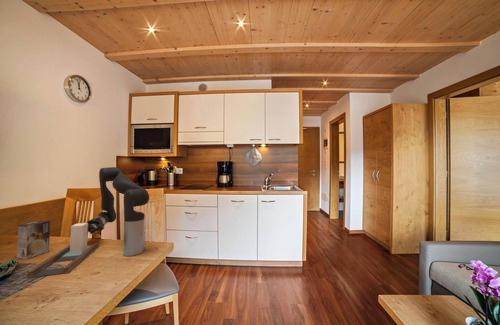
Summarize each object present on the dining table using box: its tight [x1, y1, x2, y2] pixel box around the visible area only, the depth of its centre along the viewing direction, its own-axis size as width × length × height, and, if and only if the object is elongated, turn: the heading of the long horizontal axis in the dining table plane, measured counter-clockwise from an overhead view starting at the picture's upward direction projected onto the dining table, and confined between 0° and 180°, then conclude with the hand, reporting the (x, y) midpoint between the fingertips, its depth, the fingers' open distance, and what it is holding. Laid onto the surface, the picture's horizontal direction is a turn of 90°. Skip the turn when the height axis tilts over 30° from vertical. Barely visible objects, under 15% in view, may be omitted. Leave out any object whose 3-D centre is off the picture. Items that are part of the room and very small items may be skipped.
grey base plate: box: [33, 256, 78, 278], centre depth 86 cm, size 10×17×1 cm, turn 17°
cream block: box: [69, 222, 89, 254], centre depth 99 cm, size 5×5×14 cm
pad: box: [62, 246, 90, 257], centre depth 99 cm, size 10×10×1 cm
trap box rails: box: [26, 242, 99, 279], centre depth 91 cm, size 13×27×2 cm, turn 17°
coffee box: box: [16, 219, 51, 260], centre depth 96 cm, size 9×6×16 cm
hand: (81, 232), depth 101 cm, fingers open, 8 cm apart
